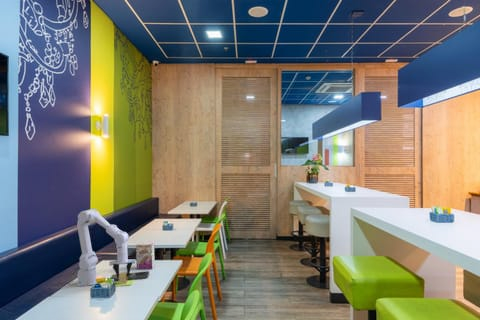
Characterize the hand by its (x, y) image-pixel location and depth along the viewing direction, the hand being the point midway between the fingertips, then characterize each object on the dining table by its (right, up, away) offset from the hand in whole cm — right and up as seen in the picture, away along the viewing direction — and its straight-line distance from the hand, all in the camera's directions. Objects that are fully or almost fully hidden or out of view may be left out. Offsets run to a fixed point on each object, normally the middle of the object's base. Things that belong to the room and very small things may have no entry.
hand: (123, 276), depth 177 cm
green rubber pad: (0, -4, 0) cm, 4 cm away
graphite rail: (+1, -4, +9) cm, 10 cm away
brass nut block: (0, -4, 0) cm, 4 cm away
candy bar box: (+5, -5, +26) cm, 27 cm away
